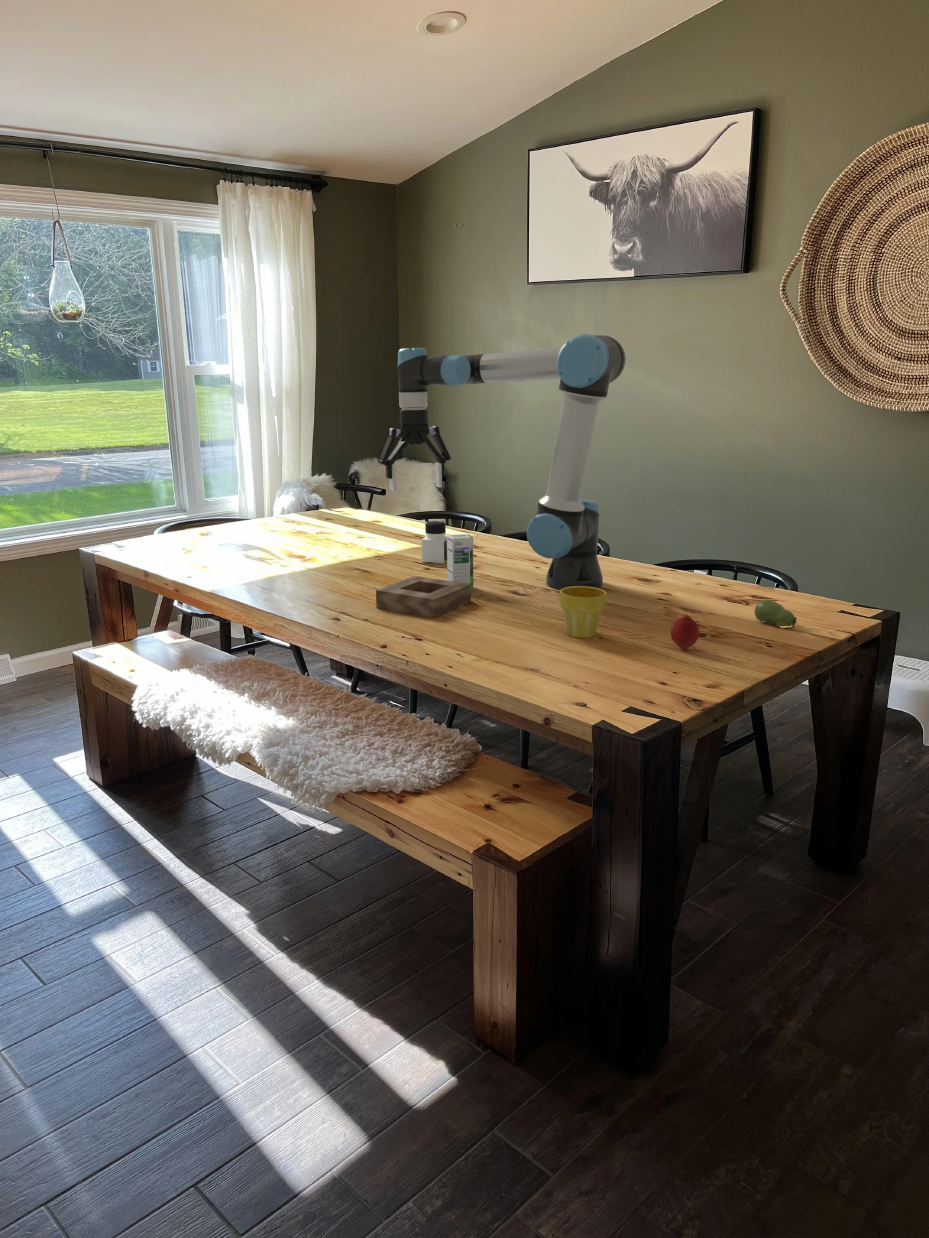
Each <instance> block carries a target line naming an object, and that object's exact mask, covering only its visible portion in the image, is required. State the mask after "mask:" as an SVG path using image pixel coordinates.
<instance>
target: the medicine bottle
mask: <svg viewBox="0 0 929 1238" xmlns="http://www.w3.org/2000/svg"><path fill="white" fill-rule="evenodd" d="M446 527H447V526H446V523H445V522H444V521H441V520H429V521H427V522H425V533H424V534H425V536H424V537H423V538H422V539H421V542H420V543H421V563H422V562H434V563H433V564H442V563H444V564H446V563H447V535H446Z"/></svg>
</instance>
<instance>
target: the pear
mask: <svg viewBox="0 0 929 1238" xmlns="http://www.w3.org/2000/svg"><path fill="white" fill-rule="evenodd" d="M754 616H755V617H756V619H757V620H758V621H759V620H760V622H761V621H765V622H766V623H775V626H777V625H778V626H791V625H794V626H795V625H796V624H797V617H796V616H795V615H794V614H793V612H792V611H790V610H787V609H786V608H785V607H784V606H782V605H781V604H780V603H778V602H776V601H774V600H771V599H763V600H760V601H759V602H757V604H756V605H755V608H754ZM765 622H764V623H765ZM778 626H777V627H778Z"/></svg>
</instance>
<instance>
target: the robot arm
mask: <svg viewBox="0 0 929 1238" xmlns="http://www.w3.org/2000/svg"><path fill="white" fill-rule="evenodd" d="M427 354H428V353H427V349H426V348H425V347H409V348H408V347H405V348H400V349H399V350H398V352H397V373H398V377H397V378H398V400H399V401H398V402H399V404H398V405H399V408H401V409H400V410H399V425H400V426H399V429H397V428H395V427H393V428H392V427H390V428H389V429H388V437H387V440H386V442H385V443H384V447H383V449H382V452H381V455H380V457H379V459H378V464H380V465H383V466H385V477H386V479H389V481H388V482H389V491H392V492H397V477H396V475H397V474H396V466H395V465H394V464H395V462H396V461H397V459H398V458H399V457H400V456H401V454H402V453H403V451H404V450H405V448H406V447H407V446H408V445H410V446H411V445H412V446H415V445H423V446H424V447H425V448H426V449H427V451H428V452H429V453H430V454H431V455H432V457H434V460H436V461H437V462H434V485H435V487H436V488H443V475H444V474H445V464H446V462H448V461H449V460H451V458H452V457H451V455H450V452H449V451H448V449H447V447H446V444H445V442H444V440H443V438H442V436H441V433H440V427H439V426H437V425H431V427H429V410H427V408H428V405H429V404H428V402H429V401H428V386H450V387H454V386H455V387H458V386H463V385H479V384H490V383H492V384H493V383H509V382H512V383H513V382H524V381H526V382H528V381H544V380H559V386H558V391H559V393H560V394H561V396H562V405H561V410H560V415H559V416H560V417H559V421H558V426H557V432H556V437H555V443H554V448H553V456H552V458H551V459H552V461H551V464H550V465H551V466H550V470H549V477H548V483H547V487H546V488H547V489H546V493H545V495H544V496H542V497H541V498H539V499H538V504H537V509H536V513H535V516H534V517H533V518H532V519H531V520H530V521H529V523H528V525H527V529H526V539H527V542H528V545H529V546H530V547H531V549H532V551H533V552H534V553H536V554H537V555H539V556H540V557H543V558H545V559H549V560H550V559H551V562H550V565H549V568H548V571H547V573H546V579H545V580H546V582H545V583H546V585H547V586H548V587H551V588H553V589H557V590H561V589H563V588H566V587H571V586H587V587H595V588H599V589H601V587H603V582H604V581H603V579H604V577H603V573H602V569H601V566H600V562H599V559H598V547H599V545H598V542H599V541H598V540H599V523H600V515H601V513H600V506H599V503H598V502H597V501H596V500H586V499H581V496H582V492H583V487H584V483H585V476H586V471H587V466H588V461H589V455H590V452H591V451H590V450H591V445H592V440H593V435H594V430H595V425H596V421H597V420H596V419H597V414H598V411H599V409H598V408H599V405H600V403H601V402H603V401H604V400H606V399H607V396H608V393H609V387H610V383H613V382H614V381H616V380H617V379H618V378H619V377H620V376H621V375H622V373H623V371H624V368H625V365H626V359H627V358H626V352H625V350H624V347H623V346H622V345H621V343H620V341H618V340H617V339H615V338H614V337H611V336H608V335H598V334H590V333H588V334H587V333H585V334H580V335H576V336H573V337H572V338H569V339H568V340H567V341H566V342H565V343H564V344H563V345H562V347H556V348H545V349H534V350H533V349H531V350H530V349H529V350H520V351H519V350H518V351H517V350H516V351H508V352H493V353H483V354H481V353H480V354H463V355H462V354H461V355H460V354H444V355H443V354H442V355H440V354H439V355H427ZM429 434H430V435H432V438H433V440H434V443H435V444H436V446H437V448H438V449H437V448H436V447H435V445H433V443H432V442H431V441H432V440H430V439H429V437H428V435H429ZM398 436H400V437H401V438H400V439H399V441H398V443H397V444H396V446H395V448H394V444H395V443H396V440H397V438H398ZM393 448H394V450H393ZM438 450H439V451H438ZM393 465H394V466H393Z"/></svg>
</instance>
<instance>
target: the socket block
mask: <svg viewBox="0 0 929 1238" xmlns="http://www.w3.org/2000/svg"><path fill="white" fill-rule="evenodd" d="M375 600H376V601H375V603H376V604H375V606H376V609H381V610H388V611H393V612H399V613H406V614H411V615H416V616H422V617H428V618H432V617H433V619H435V618H437V617H440V616H442V615H444V614H447V613H448V612H450V610H451V611H453V610H455V609H457V607H458V608H460V607H462V606H464V605H466V603H467V604H468V602H469V603H471V602H472V590H471V584H466V583H460V582H453V581H448V580H446V579H438V578H431V577H426V576H417V575H413V576H411V577H408V578H406V579H403V580H400V581H398V582H397V581H396V582H394V583H391V584H389V585H386V586H384V587H381V588H380V587H379V588H378V589H375ZM470 601H471V602H470ZM463 604H464V605H463ZM459 606H460V607H459Z"/></svg>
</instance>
